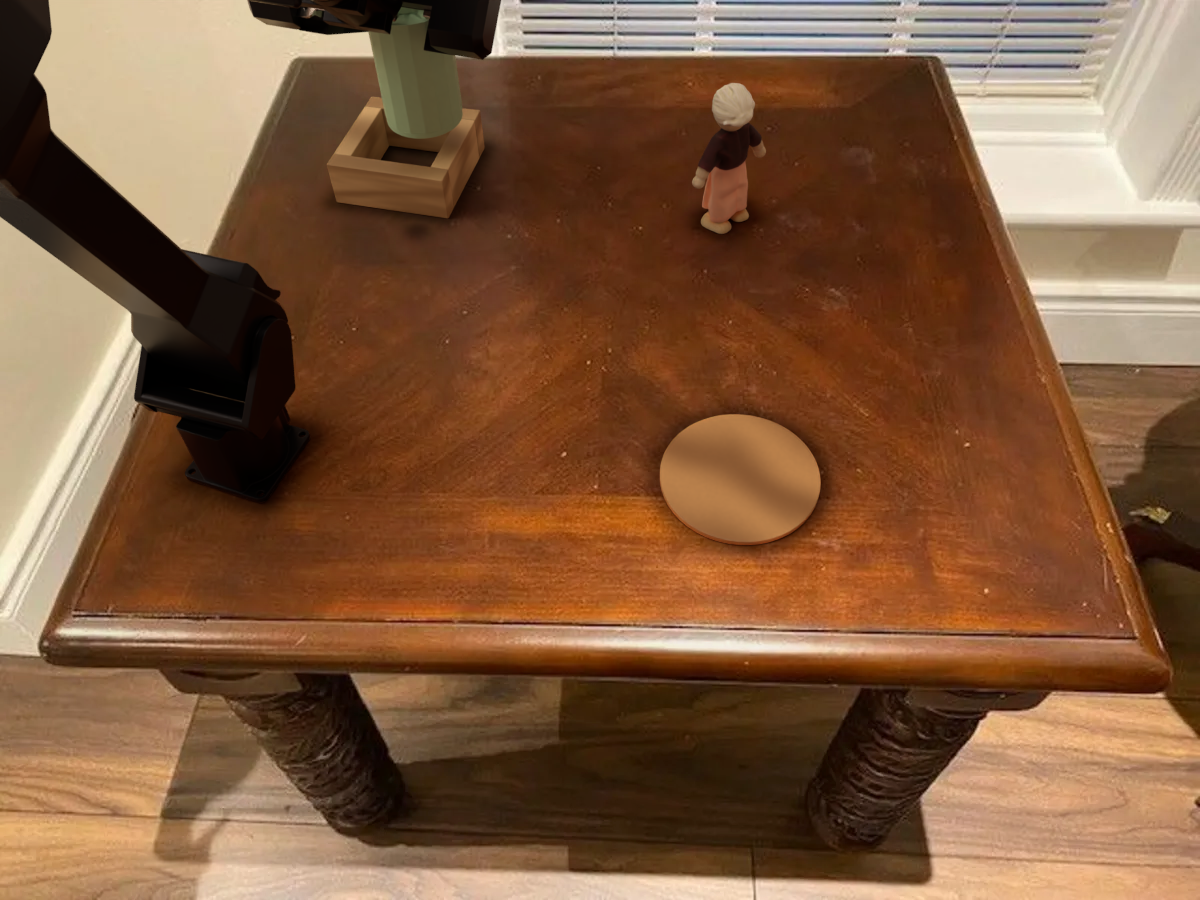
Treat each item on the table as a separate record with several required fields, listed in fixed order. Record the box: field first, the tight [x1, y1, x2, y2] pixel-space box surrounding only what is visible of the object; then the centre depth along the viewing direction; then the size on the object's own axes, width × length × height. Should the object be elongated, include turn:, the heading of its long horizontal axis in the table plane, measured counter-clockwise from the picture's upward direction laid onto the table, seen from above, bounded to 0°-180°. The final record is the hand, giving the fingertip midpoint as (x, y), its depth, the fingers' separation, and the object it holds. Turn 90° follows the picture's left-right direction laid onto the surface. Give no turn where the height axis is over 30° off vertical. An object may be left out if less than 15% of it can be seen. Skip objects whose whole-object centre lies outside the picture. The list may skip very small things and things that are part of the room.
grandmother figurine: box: [691, 82, 767, 235], centre depth 83 cm, size 8×4×13 cm, turn 141°
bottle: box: [367, 7, 463, 139], centre depth 82 cm, size 6×6×14 cm
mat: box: [659, 413, 822, 546], centre depth 71 cm, size 11×11×1 cm
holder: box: [326, 96, 486, 219], centre depth 92 cm, size 10×10×4 cm
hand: (419, 29), depth 83 cm, fingers closed on bottle, 6 cm apart
